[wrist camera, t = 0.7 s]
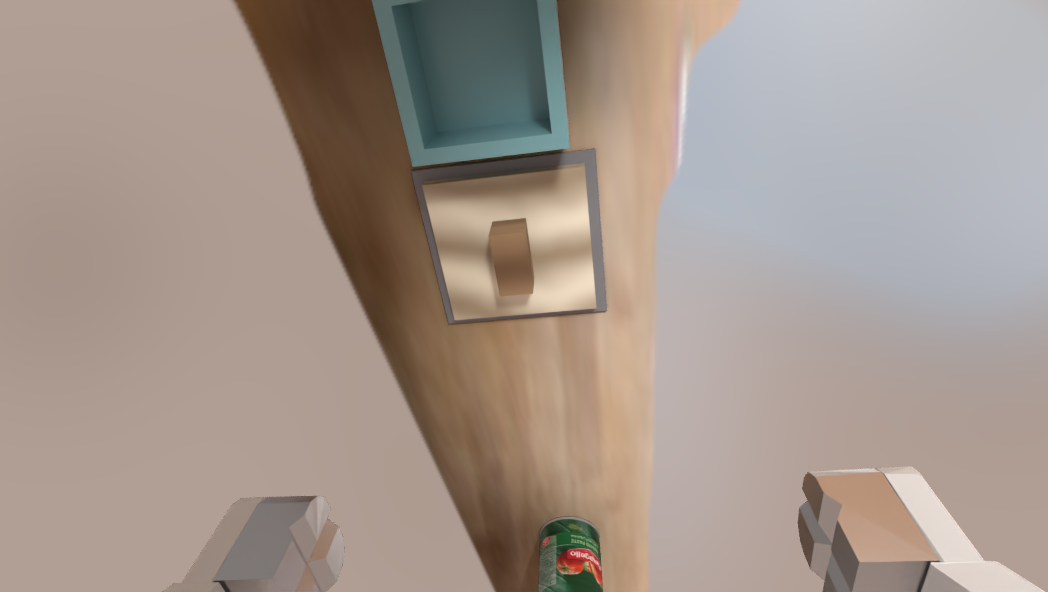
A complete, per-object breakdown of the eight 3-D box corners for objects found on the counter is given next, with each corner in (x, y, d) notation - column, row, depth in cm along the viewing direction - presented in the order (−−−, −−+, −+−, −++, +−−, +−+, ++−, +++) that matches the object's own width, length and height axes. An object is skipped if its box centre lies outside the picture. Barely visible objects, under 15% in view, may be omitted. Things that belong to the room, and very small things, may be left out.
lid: (424, 181, 48) (414, 197, 45) (584, 163, 47) (585, 178, 43) (456, 314, 55) (449, 337, 52) (595, 302, 54) (598, 325, 50)
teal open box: (392, -15, 41) (368, -12, 36) (553, -41, 40) (551, -42, 34) (428, 144, 47) (412, 166, 42) (569, 127, 46) (569, 148, 40)
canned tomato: (536, 549, 75) (532, 633, 65) (543, 512, 71) (541, 596, 61) (594, 557, 75) (598, 642, 66) (605, 520, 71) (611, 605, 61)
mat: (412, 170, 48) (410, 171, 48) (594, 148, 46) (595, 149, 46) (449, 321, 56) (448, 323, 56) (606, 308, 54) (607, 310, 54)
